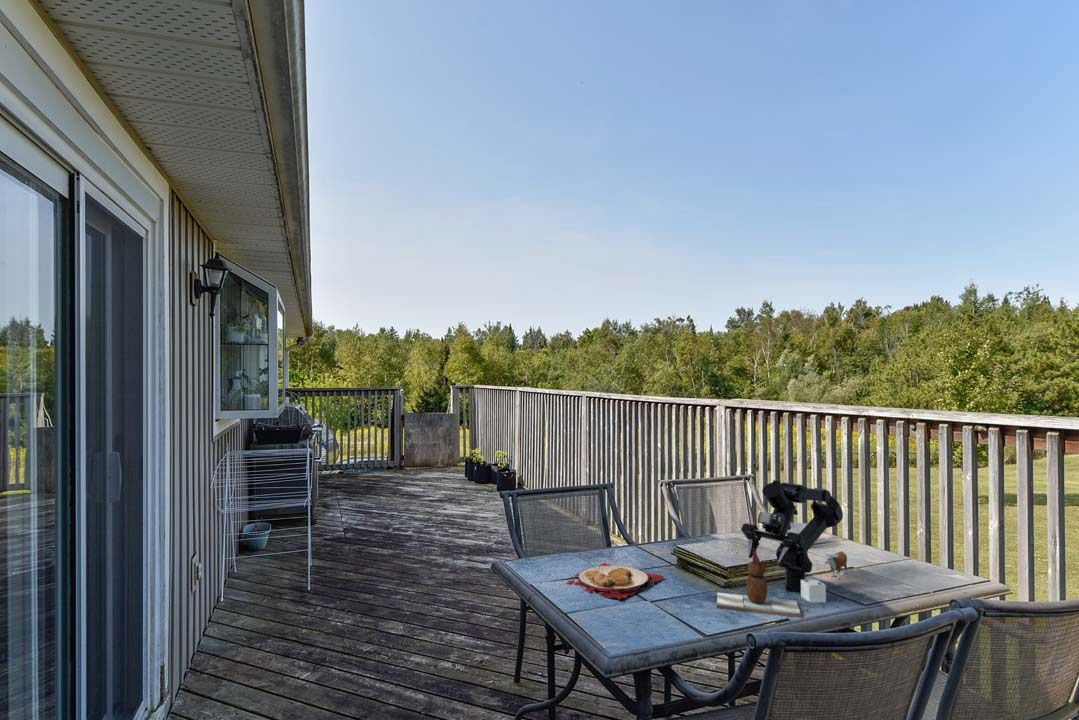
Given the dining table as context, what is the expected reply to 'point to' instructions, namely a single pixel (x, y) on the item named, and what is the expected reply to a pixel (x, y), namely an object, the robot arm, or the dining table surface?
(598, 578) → the plate with food
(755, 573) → the wooden figurine
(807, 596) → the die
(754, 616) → the dining table surface
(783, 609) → the board
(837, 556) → the bull figurine
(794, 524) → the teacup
